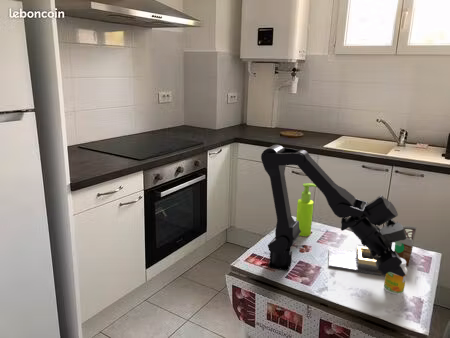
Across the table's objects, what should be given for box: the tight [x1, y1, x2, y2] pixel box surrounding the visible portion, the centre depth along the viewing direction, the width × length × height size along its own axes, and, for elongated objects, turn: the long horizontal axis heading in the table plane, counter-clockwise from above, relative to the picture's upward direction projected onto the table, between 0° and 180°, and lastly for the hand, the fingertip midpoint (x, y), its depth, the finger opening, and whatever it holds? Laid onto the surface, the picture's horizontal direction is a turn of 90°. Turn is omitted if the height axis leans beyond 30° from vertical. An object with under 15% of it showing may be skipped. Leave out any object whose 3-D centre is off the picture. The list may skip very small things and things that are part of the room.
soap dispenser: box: [295, 182, 317, 237], centre depth 143 cm, size 6×7×20 cm
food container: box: [394, 225, 417, 267], centre depth 128 cm, size 12×6×10 cm, turn 149°
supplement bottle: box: [383, 258, 408, 295], centre depth 110 cm, size 5×5×10 cm
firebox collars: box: [328, 245, 386, 277], centre depth 125 cm, size 19×12×4 cm, turn 74°
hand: (401, 270), depth 109 cm, fingers closed on supplement bottle, 5 cm apart
